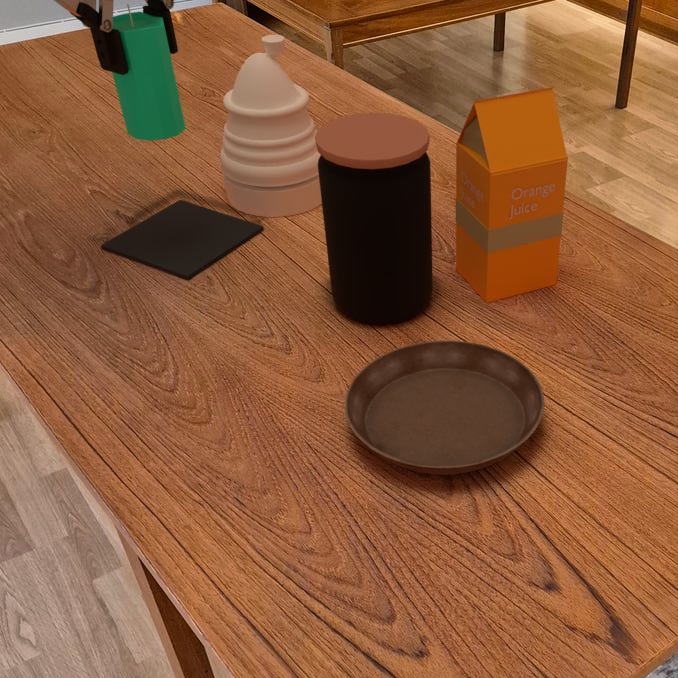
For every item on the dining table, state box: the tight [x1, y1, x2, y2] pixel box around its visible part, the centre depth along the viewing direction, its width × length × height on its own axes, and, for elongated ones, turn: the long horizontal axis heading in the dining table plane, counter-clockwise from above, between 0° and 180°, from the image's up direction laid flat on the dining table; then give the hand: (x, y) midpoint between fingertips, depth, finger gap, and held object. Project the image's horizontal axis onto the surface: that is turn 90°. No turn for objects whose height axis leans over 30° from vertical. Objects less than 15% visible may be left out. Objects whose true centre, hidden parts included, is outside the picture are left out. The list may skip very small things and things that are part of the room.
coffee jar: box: [315, 111, 434, 327], centre depth 89 cm, size 11×11×18 cm
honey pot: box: [219, 34, 322, 218], centre depth 106 cm, size 13×13×18 cm
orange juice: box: [455, 87, 569, 304], centre depth 92 cm, size 8×9×20 cm
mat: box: [100, 199, 265, 281], centre depth 103 cm, size 13×13×1 cm
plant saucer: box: [344, 340, 545, 476], centre depth 80 cm, size 18×18×3 cm
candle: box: [111, 3, 187, 142], centre depth 89 cm, size 6×6×12 cm
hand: (140, 59), depth 89 cm, fingers closed on candle, 6 cm apart
